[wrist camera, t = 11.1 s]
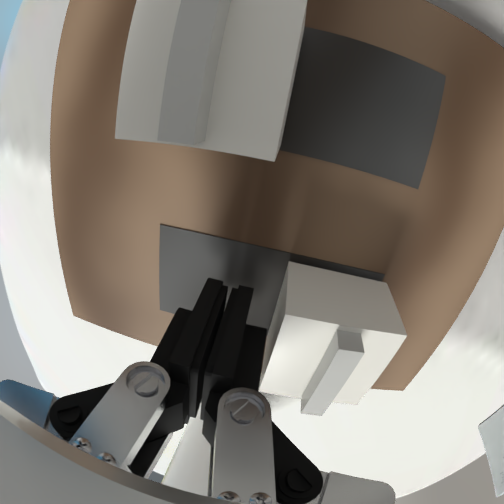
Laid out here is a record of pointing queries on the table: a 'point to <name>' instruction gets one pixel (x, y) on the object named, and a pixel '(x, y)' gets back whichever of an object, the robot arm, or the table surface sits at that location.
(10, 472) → the robot arm
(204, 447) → the drinking glass
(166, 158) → the switch board
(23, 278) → the table surface
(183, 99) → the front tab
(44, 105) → the table surface
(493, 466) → the skincare box
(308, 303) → the tab
